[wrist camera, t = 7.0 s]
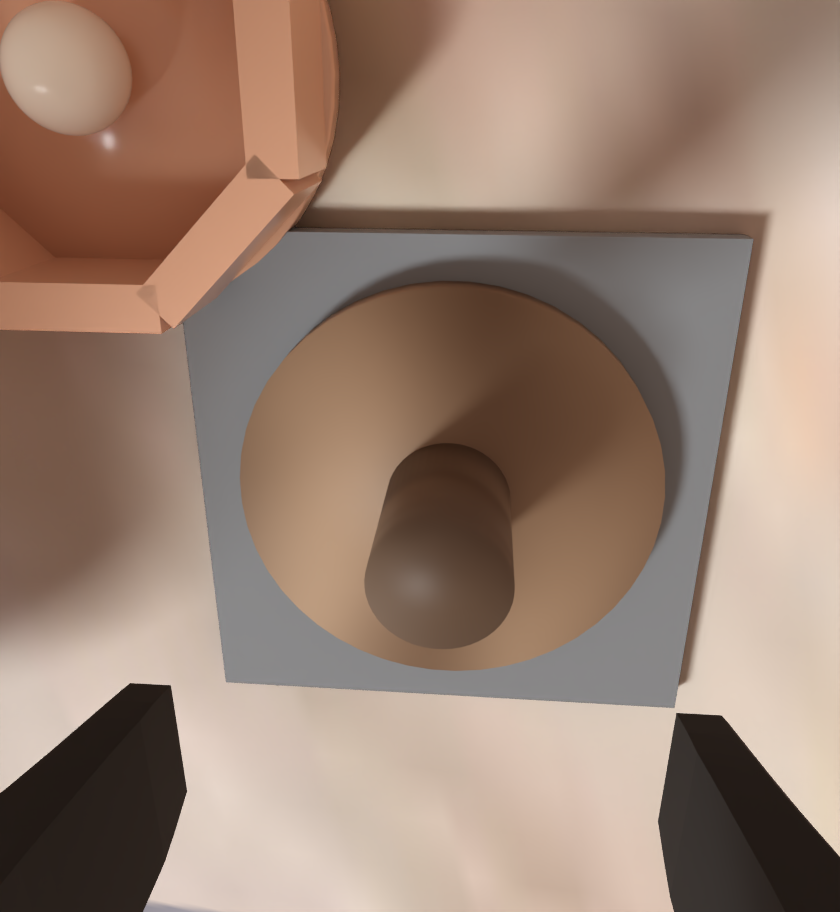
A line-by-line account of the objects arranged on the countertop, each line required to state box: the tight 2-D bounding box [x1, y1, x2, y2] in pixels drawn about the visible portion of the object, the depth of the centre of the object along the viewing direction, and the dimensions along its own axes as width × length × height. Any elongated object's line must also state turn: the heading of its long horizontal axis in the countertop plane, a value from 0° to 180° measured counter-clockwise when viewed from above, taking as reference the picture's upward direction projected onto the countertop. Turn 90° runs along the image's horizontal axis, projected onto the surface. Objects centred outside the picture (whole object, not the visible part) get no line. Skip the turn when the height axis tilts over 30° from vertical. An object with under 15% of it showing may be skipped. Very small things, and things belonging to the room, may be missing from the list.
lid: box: [240, 281, 665, 671], centre depth 17 cm, size 10×10×4 cm
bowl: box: [0, 0, 340, 334], centre depth 15 cm, size 9×9×4 cm
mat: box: [183, 228, 753, 708], centre depth 19 cm, size 12×12×1 cm
